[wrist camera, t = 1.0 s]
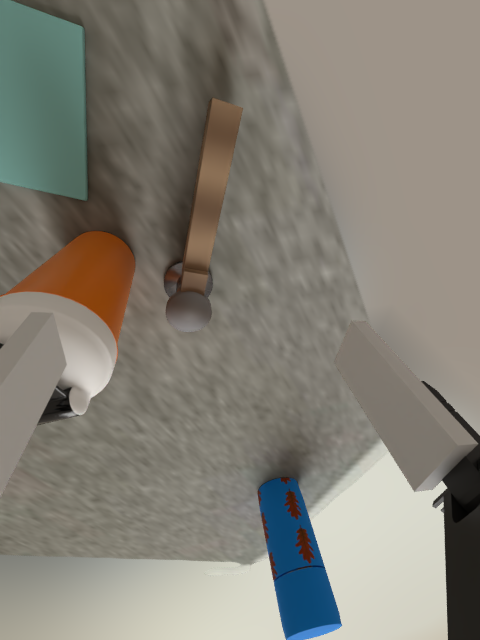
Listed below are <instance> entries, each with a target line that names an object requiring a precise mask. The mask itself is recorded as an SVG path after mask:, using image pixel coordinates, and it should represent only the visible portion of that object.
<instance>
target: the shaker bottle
mask: <svg viewBox="0 0 480 640" xmlns="http://www.w3.org/2000/svg"><path fill="white" fill-rule="evenodd" d="M134 272H135V259H134V256H133V254H132V252H131V250H130V248H129V247H128V246H127V245H126V244H125V243H124V242H123V241H122V240H121V239H119V238H118V237H116V236H114V235H112V234H110V233H106V232H103V231H90V232H86V233H83V234H81V235H79V236H78V237H76V238H75V239H74V240H73V241H71V242H70V243H69V244H68V245H66V246H65V247H64V248H63V249H61V250H60V251H59V252H58V253H56V254H55V255H54V256H53V257H51V258H50V259H49V260H48V261H46V262H45V263H44V264H42V265H41V266H40V267H39V268H37V269H36V270H35V271H34V272H32V273H31V274H30V275H29V276H27V277H26V278H25V279H24V280H22V281H21V282H20V283H19V284H17V285H16V286H15V287H14V288H12V289H11V290H10V291H9V292H7V293H6V294H4V295H1V296H0V349H1V348H2V346H3V345H4V344H5V343H6V342H7V340H8V339H9V338H10V337H11V336H12V335H13V333H14V332H15V331H16V330H17V329H18V327H19V326H20V325H21V324H22V323H23V321H24V320H25V319H26V318H27V317H28V315H29V314H30V313H31V312H46V313H53V314H54V318H55V322H56V325H57V329H58V333H59V336H60V340H61V344H62V348H63V351H64V355H65V359H66V363H67V366H66V368H65V370H64V372H63V374H62V376H61V378H60V380H59V382H58V384H57V386H56V388H55V389H54V391H53V393H52V395H51V397H50V399H49V401H48V403H47V405H46V407H45V409H44V411H43V413H42V415H41V417H40V419H39V421H38V423H37V425H41V424H45V423H49V422H54V421H58V420H62V419H66V418H71V417H75V416H79V415H82V414H84V413H85V411H86V410H87V407H88V404H89V402H90V399H91V397H93V396H95V395H96V394H98V393H99V392H100V391H102V390H103V389H104V387H105V386H106V385H107V384H108V382H109V380H110V377H111V375H112V372H113V369H114V366H115V363H116V361H117V355H118V346H117V343H118V338H119V334H120V330H121V326H122V322H123V318H124V313H125V309H126V305H127V301H128V297H129V293H130V288H131V284H132V280H133V276H134ZM37 425H36V426H37Z"/></svg>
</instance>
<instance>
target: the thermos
mask: <svg viewBox="0 0 480 640" xmlns="http://www.w3.org/2000/svg"><path fill="white" fill-rule="evenodd" d="M258 499H259V506H260V512H261V517H262V523H263V528H264V533H265V538H266V544H267V549H268V554H269V559H270V565H271V570H272V575H273V580H274V586H275V591H276V596H277V601H278V606H279V612H280V617H281V622H282V627H283V631H284V634H285V638H286V640H304V639H309V638H313V637H317V636H320V635H324V634H327V633H329V632H332V631H334V630H336V629H338V628H340V627H341V626H342V624H341V621H340V615H339V611H338V608H337V605H336V602H335V598H334V595H333V592H332V589H331V586H330V582H329V579H328V576H327V573H326V570H325V567H324V564H323V560H322V557H321V554H320V551H319V548H318V544H317V541H316V538H315V535H314V532H313V528H312V525H311V522H310V519H309V515H308V512H307V509H306V506H305V503H304V500H303V497H302V494H301V491H300V489H299V486H298V483H297V481H296V480H294V479H292V478H278V479H273V480H271V481H268V482H266V483H265V484H263V485H262V486H261V487H260V488H259V489H258Z"/></svg>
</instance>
